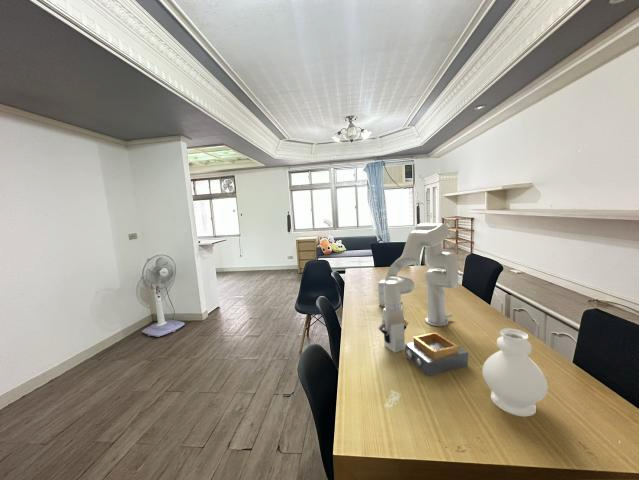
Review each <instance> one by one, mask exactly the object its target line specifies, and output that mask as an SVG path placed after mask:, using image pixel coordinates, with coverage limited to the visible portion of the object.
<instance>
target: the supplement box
mask: <svg viewBox="0 0 639 480" xmlns="http://www.w3.org/2000/svg"><path fill="white" fill-rule="evenodd" d="M384 283H385V279H381V280H380V281H378V282H377V288H378V289H377V290H378V291H377V292H378V306H379V305H381V307H385V297H384Z"/></svg>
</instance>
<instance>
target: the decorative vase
mask: <svg viewBox="0 0 639 480" xmlns="http://www.w3.org/2000/svg"><path fill="white" fill-rule="evenodd" d="M499 333H500V336H499V337H498V338H497V340H496V344H497V346H498V348H499V349H500V350H498V351H496V352H494V353H492V354H491V355H490V356H489V357H488V358H487V359H486V360H485V362H484V363H483V365H482V371H481V372H482V378H483V381H484V382H485V384H486V385H487V387H489V389H490V390H491V392H490V399H491V401H492V402H493V404H494V405H495V406H497V408H499V409H500V410H502V411H504V412H505V413H508V414H510V415H513V416H518V417H531V416H534V415H535V414H536V412H537V405H536V403H538V402H540V401H542V400H544V398H545V397H546V396H547V393H548V381H547V378H546V377H545V375H544V373H543V371H542V370H541V368H539V366H538V365H537V364H536V363H535V361H533V360H532V359H531V358H530V357H529V356H528V355H529V354H531V353H532V351H533V347H532V345H531V343H530V342H529V341H528V340H529V335H528V333H526V332H524V331H523V330H519V329H516V328H503V329H501V330H500V332H499Z"/></svg>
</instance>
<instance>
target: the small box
mask: <svg viewBox="0 0 639 480" xmlns="http://www.w3.org/2000/svg"><path fill="white" fill-rule="evenodd" d="M384 329H385V327H384V328H383V330H384ZM404 331H405V330H404V324H403V323H401V324H396V325H392V326H391V330H390V332H389V334H388V335H389V339H390V343H389V344H388V343H387V342H386V341H385V337H384V336H383V340H384V341H383V342H384V343H383V344H384V347H386V348H387V349H389V350H390V351H392V352H393V353H398V352H401V351H405V344H406V341H405V340H406V339H405V332H404ZM386 332H387V331H386Z"/></svg>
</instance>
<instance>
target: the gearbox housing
mask: <svg viewBox="0 0 639 480" xmlns="http://www.w3.org/2000/svg"><path fill="white" fill-rule="evenodd" d="M404 352H405V353H404V356H405V358H407V360H409V361H411V363H413V364H414V366H416V367H417V369H420V370H421V371H422V373H424V374H425V375H426V376H427V377H429V376H434V375H438V374H442V373H445V372H448V371H452V370H456V369H459V368H460V369H461V368H463V367H467V366H469V352H468V351H467V350H465V349H463V348H462V347H460V346H459V345H457V344H456V343H454V342H452V341H451V340H449V339H447V338H446V337H445V336H442V335H441V334H439V333H437V332H436V331H434V332H430V333H425V334H420V335H417V336H413V341H411V342H405V349H404Z"/></svg>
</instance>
